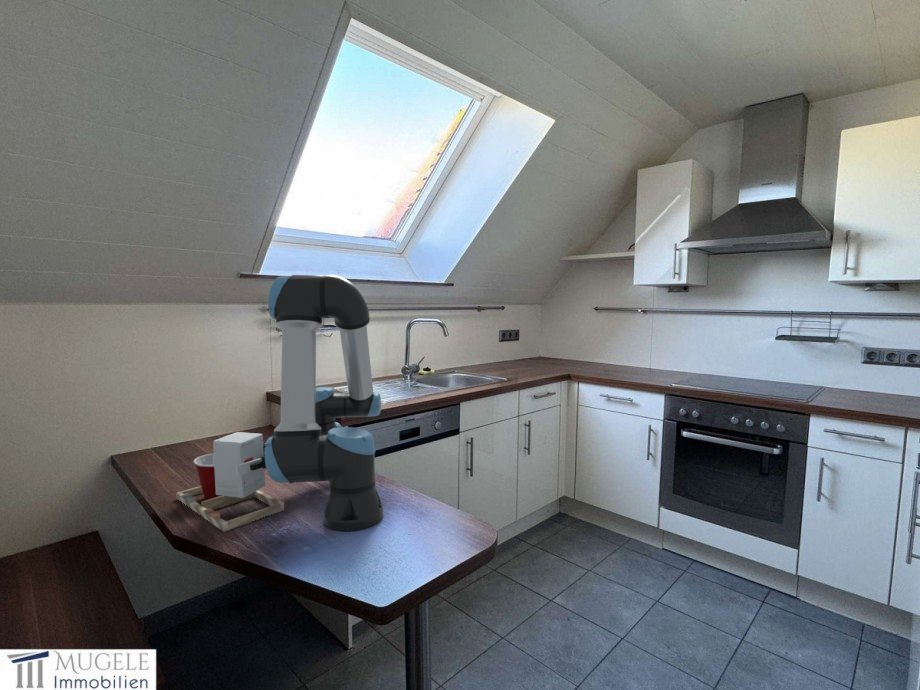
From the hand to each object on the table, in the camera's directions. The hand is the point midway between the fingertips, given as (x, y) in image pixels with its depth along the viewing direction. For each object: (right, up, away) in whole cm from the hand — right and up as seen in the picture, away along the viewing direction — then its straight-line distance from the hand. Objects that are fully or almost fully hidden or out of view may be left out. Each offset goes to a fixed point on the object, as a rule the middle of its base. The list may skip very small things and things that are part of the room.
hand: (224, 466), depth 121 cm
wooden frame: (-4, -13, +9) cm, 16 cm away
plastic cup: (-10, -13, +14) cm, 22 cm away
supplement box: (+2, -8, +4) cm, 9 cm away
